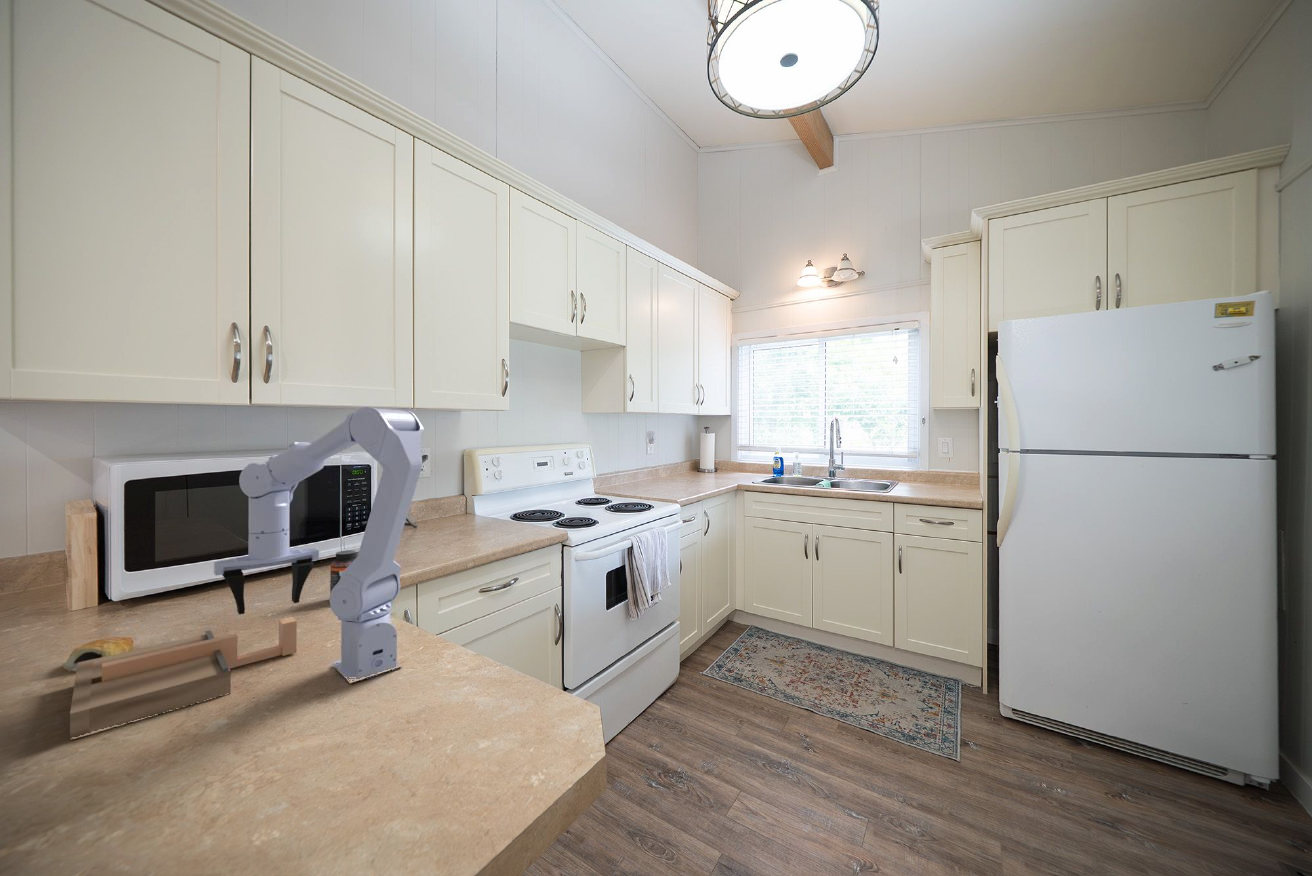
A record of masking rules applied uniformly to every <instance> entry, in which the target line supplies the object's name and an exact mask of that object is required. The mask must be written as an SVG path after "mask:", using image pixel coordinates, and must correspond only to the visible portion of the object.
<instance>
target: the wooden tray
mask: <svg viewBox="0 0 1312 876" xmlns="http://www.w3.org/2000/svg"><path fill="white" fill-rule="evenodd" d="M213 638H216V637H215V636H214V634H213V632H212V630H211V629H209V630H205V632H204V634H202V635H196V636H193V637H189V638H183V639H180V640H175V641H169V642H165V643H160V644H156V645H151V646H147V647H143V648H138V649H134V650H133V649H132V650H131V651H128V652H124V653H119V654H115V655H110V656H106V657H101V658H97V659H92V660H87V661H83V662H78V664H77V671H75V677H74V678H75V679H74V683H73V684H74V685H73V692H72V699H71V704H70V711H69V712H70V713H69V739H70V738H72V737H78V736H80V735H84V734H86V733H91V732H92V731H97V730H99V729H104V728H107V727H112V726H114V725H121V724H123V723H128V722H130V721H134V720H137V719H141V718H145V717H148V716H153V715H155V714H160V715H162V714H161V713H163V712H167V711H169V710H174V709H176V708H181V707H183V706H188V705H191V704H194V705H196V704H195V703H197V702H201V703H203V702H202V701H204V700H207V699H210V698H214V697H218V696H220V695H225V694H227V693H232V690H231V685H232V684H231V682H232V681H231V678H232V674H231V672H232V671H231V668H229V666H228V664H227V662H226V660H225V658H224V656H223V654H222V653H221V651H220V650H215V651H214V655H210V656H206V657H202V658H198V659H194V660H189V661H185V662H181V663H177V664H173V665H169V666H165V667H161V668H157V669H153V670H149V671H144V672H140V673H136V674H132V675H128V676H124V677H120V678H116V679H112V680H108V681H103V682H102V663H107V662H111V661H116V660H120V659H125V658H129V657H133V656H138V655H142V654H147V653H151V652H156V651H160V650H164V649H169V648H173V647H178V646H182V645H187V644H191V643H195V642H200V641H204V640H209V639H213ZM225 696H226V695H225ZM218 698H219V697H218ZM191 706H192V705H191ZM188 707H189V706H188ZM181 709H182V708H181ZM174 711H175V710H174ZM167 713H168V712H167Z"/></svg>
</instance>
